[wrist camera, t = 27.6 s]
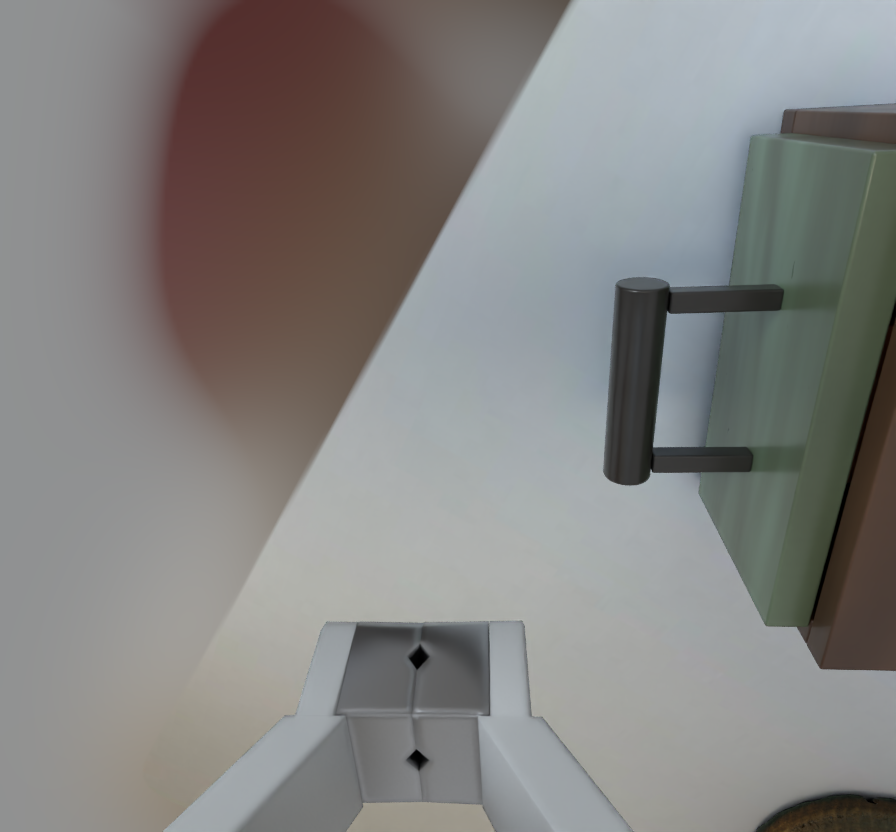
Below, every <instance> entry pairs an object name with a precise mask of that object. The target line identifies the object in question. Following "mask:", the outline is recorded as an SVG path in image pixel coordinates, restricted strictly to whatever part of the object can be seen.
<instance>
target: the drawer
mask: <svg viewBox="0 0 896 832" xmlns="http://www.w3.org/2000/svg"><path fill="white" fill-rule="evenodd" d="M895 302H896V144H890V143H881V142H872V141H862V140H853V139H843V138H834V137H824V136H815V135H805V134H796V133H781V134H762V135H753V136H751V139H750V146H749V153H748V160H747V167H746V173H745V180H744V187H743V194H742V201H741V207H740V214H739V221H738V228H737V235H736V241H735V248H734V255H733V262H732V269H731V275H730V282H729V286H699V287H670V285H669V283H668V282H666V281H663V280H660V279H656V278H646V277H636V278H627V279H623V280H620V281H618V282H617V283H616V286H615V300H614V316H613V331H612V346H611V361H610V376H609V391H608V406H607V421H606V437H605V452H604V467H603V472H604V475H605V476H606V478H608V479H609V480H610V481H612V482H614V483H617V484H621V485H639V484H642V483H644V482H646V481H647V480H648V479H649V477H650V470H652V472H653V473H689V472H702V473H701V479H700V486H699V495H700V497H701V499H702V501H703V503H704V505H705V507H706V509H707V511H708V513H709V515H710V517H711V519H712V521H713V523H714V525H715V527H716V529H717V531H718V533H719V535H720V537H721V539H722V541H723V543H724V545H725V547H726V549H727V551H728V553H729V555H730V557H731V558H732V560H733V562H734V564H735V566H736V568H737V570H738V572H739V574H740V576H741V578H742V580H743V582H744V584H745V586H746V588H747V590H748V592H749V594H750V596H751V598H752V600H753V602H754V604H755V606H756V608H757V610H758V612H759V614H760V616H761V618H762V620H763V622H764V624H765V625H766V626H780V627H807V626H808V625H809V622H810V618H811V614H812V610H813V607H814V603H815V599H816V596H817V592H818V588H819V584H820V581H821V577H822V573H823V569H824V566H825V562H826V558H827V555H828V551H829V552H830V554H832V551H833V547H834V543H835V540H836V536H837V532H838V529H839V525H840V521H841V518H842V514H843V510H844V507H845V503H846V499H847V496H848V492H849V488H850V484H851V483H847V480H848V477H849V473H850V469H851V465H852V462H853V458H854V454H855V450H856V447H857V443H858V439H859V436H860V432H861V428H862V424H863V421H864V417H865V413H866V410H867V406H868V402H869V398H870V395H871V391H872V387H873V384H874V380H875V376H876V372H877V369H878V365H879V361H880V358H881V354H882V350H883V346H884V343H885V339H886V335H887V331H888V328H889V324H890V320H891V317H892V313H893V309H894V305H895ZM667 311H668V312H669V313H670V314H680V313H716V312H725V316H724V323H723V330H722V337H721V343H720V350H719V357H718V364H717V371H716V377H715V384H714V391H713V398H712V405H711V411H710V418H709V425H708V432H707V439H706V445H705V447H653V442H654V432H655V423H656V413H657V404H658V394H659V385H660V375H661V366H662V356H663V347H664V337H665V327H666V318H667Z"/></svg>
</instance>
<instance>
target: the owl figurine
mask: <svg viewBox="0 0 896 832" xmlns="http://www.w3.org/2000/svg"><path fill="white" fill-rule="evenodd" d="M873 802H875V804H873V803H869V802H867V801H866V800H865V798H863V797H862V796H857V795H837V796H830V797H826V798H823V799H819V800H817V801H812V802H805V803H801V804H799V805H797V806H796V807H792V808H789V809H786V810H784V811H782V812H780V813H778V814H777V815H776V816H774V817H773V818H772V819H771V820H769V821H768V822H767V823H766V824H763V825H762V826H761V827H760V828H759V829H758V830H757V831H756V832H896V800H893V799H888V798H874V799H873ZM876 803H877V804H876Z"/></svg>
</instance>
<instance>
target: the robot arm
mask: <svg viewBox="0 0 896 832" xmlns="http://www.w3.org/2000/svg"><path fill="white" fill-rule="evenodd" d="M376 802H437V803H459V804H481V805H483V809H484V811H485V813H486V815H487V816H488V818H489V820H490V822H491V824H492V826H493V828H494V830H495V831H496V832H634V831H633V830H632V829H631V827H630V826H629V825H628V824H627V822H626V821H625V820H624V819H623V817H622V816H621V815H620V814H619V812H618V811H617V810H616V809H615V807H614V806H613V805H612V804H611V802H610V801H609V800H608V799H607V797H606V796H605V795H604V794H603V792H602V791H601V790H600V789H599V787H598V786H597V785H596V784H595V782H594V781H593V780H592V779H591V777H590V776H589V775H588V774H587V772H586V771H585V770H584V769H583V767H582V766H581V765H580V764H579V762H578V761H577V760H576V759H575V757H574V756H573V755H572V754H571V752H570V751H569V750H568V749H567V747H566V746H565V745H564V744H563V742H562V741H561V740H560V739H559V737H558V736H557V735H556V734H555V732H554V731H553V730H552V729H551V727H550V726H549V725H548V724H547V722H546V721H545V720H544V719H543V717H532V715H531V702H530V689H529V677H528V664H527V651H526V638H525V626H524V624H523V622H522V621H490V623H489V621H479V622H424V623H403V622H326V624H325V625H324V626H323V628H322V629H321V632H320V635H319V638H318V642H317V645H316V648H315V651H314V655H313V658H312V661H311V665H310V668H309V671H308V674H307V678H306V681H305V684H304V688H303V691H302V694H301V697H300V701H299V704H298V707H297V711H296V714H295V715H285V716H284V717H283V718H282V719H281V720H280V721H279V722H277V723H276V724H275V725H274V726H273V727H272V728H271V729H270V730H269V731H268V732H267V733H266V734H265V735H264V736H263V737H262V738H261V739H260V740H259V741H257V742H256V743H255V744H254V745H253V746H252V747H251V748H250V749H249V750H248V751H247V752H246V753H245V754H244V755H243V756H242V757H241V758H240V759H239V760H237V761H236V762H235V763H234V764H233V765H232V766H231V767H230V768H229V769H228V770H227V771H226V772H225V773H224V774H223V775H222V776H221V777H220V778H219V779H218V780H216V781H215V782H214V783H213V784H212V785H211V786H210V787H209V788H208V789H207V790H206V791H205V792H204V793H203V794H202V795H201V796H200V797H199V798H198V799H196V800H195V801H194V802H193V803H192V804H191V805H190V806H189V807H188V808H187V809H186V810H185V811H184V812H183V813H182V814H181V815H180V816H179V817H178V818H177V819H175V820H174V821H173V822H172V823H171V824H170V825H169V826H168V827H167V828H166V829H165V830H164V831H163V832H346V831H347V829H348V828H349V826H350V825H351V824H352V822H353V821H354V819H355V818H356V816H357V815H358V813H359V812H360V811H361V809H362V808H363V804H362V803H376Z"/></svg>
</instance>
